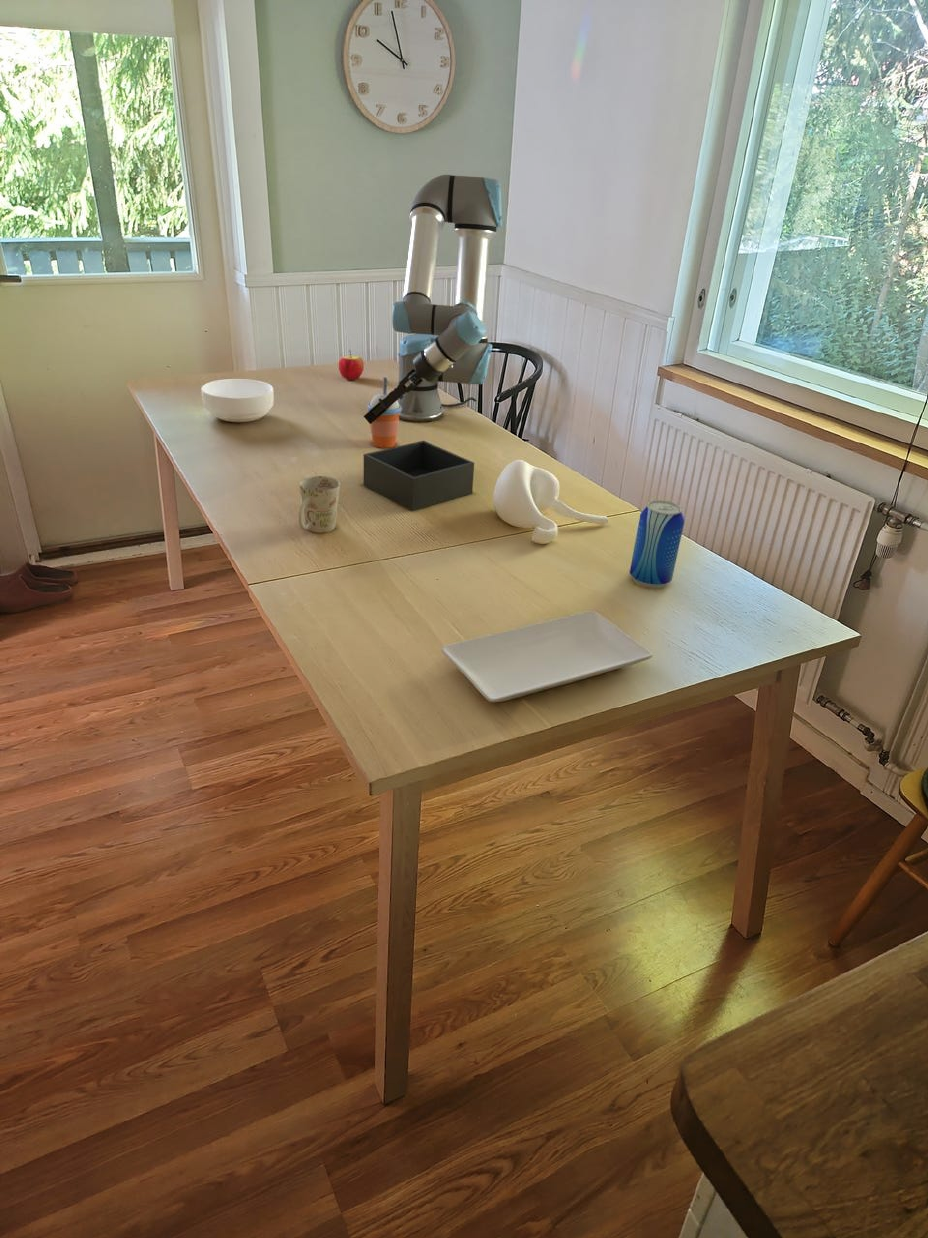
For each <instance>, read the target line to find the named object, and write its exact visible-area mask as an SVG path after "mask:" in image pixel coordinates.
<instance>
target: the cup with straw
mask: <svg viewBox="0 0 928 1238" xmlns="http://www.w3.org/2000/svg"><path fill="white" fill-rule="evenodd" d="M387 381H388V378H387V377H383V378H382V393H378V394H376V395H375V396H373V398H372V399H371V400H370V402H369V403H368V404H367V406H366V407H367V412H369V411H370V410H371V409H372V408H373V407H374V406H375V405H377V404H378V403H379V402H380V401H379V399H381V400H383V399H384V398H385V397H386V396H388V395H389V393H387V386H388V384H387V383H388V382H387ZM401 410H402V407H401V405H400V404H399V403H398V401H396V402H394V403H393V404H392V405H391V406H390V407H389V409H387V410H386V411H385V412H384V413H383V414H381V415H380V416H379V417H378V418H377V419H376V420H375V421H374V422H372V423H371V424H370V423H369V426H370V434H371V439H372V445H373V446H374V447H376V448H381V449H389V448H393V447H396V442H397V435H398V433H399V431H398V430H399V423H400V419H399V413H400V412H401Z"/></svg>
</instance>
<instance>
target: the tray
mask: <svg viewBox="0 0 928 1238" xmlns="http://www.w3.org/2000/svg"><path fill="white" fill-rule="evenodd" d="M441 653H442V654H443V655H444V656H445V657H446V658H447V659H448V660H449V661H450V662H451V663H452V664H453V665H454V666H455V667H456V668H457V669H458V670H459V671H460V673H462V675H463V676H465V677H466V678H467V680H468V681H469V682H470V683H471V685H473V687H474V688H475V689H476V690H477V691H478V692H479V693H480V694H481V695H482V697H484V699H486V701H488V702H489V703H502V702H503V703H504V702H508V701H511V700H514V699H518V698H520V697H525V696H527V695H528V696H529V695H531V694H535V693H538V692H542V691H544V690H549V689H553V688H555V687H560V686H564V685H566V684H569V683H573V682H577V681H580V680H584V679H587V678H590V677H594V676H598V675H601V674H606V673H608V672H613V671H615V670H619V669H622V668H623V669H624V668H626V667H629V666H632V665H636V664H639V663H643V662H645V661H647V660H649V659H651V658H653V653H652V652H651V651H650V650H649V649H647V648H646V647H645V646H643V645H642V644H641V643H639V642H638V641H637V640H635V639H634V638H633V637H631V636H630V635H629V634H628V633H626V632H625V631H624V630H622V629H620V628H619V627H618V626H617V625H616V624H614V623H612V622H611V621H610V620H608V619H607V618H606V617H605V616H603V615H602V614H600V613H599V612H597V611H595V610H586V611H582V612H578V613H575V614H571V615H567V616H562V617H558V618H554V619H551V620H546V621H542V622H538V623H534V624H529V625H526V626H521V627H517V628H513V629H509V630H504V631H500V632H497V633H491V634H488V635H487V634H486V635H483V636H479V637H475V638H471V639H467V640H462V641H458V642H454V643H450V644H447V645H446V644H445V645H444V646H442V647H441Z"/></svg>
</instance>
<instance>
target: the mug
mask: <svg viewBox="0 0 928 1238" xmlns="http://www.w3.org/2000/svg"><path fill="white" fill-rule="evenodd" d="M340 490H341V482H340V481H339V480H338V479H336V478H334V477H330V476H326V475H313V476H309V477H305V478H303V479H302V480H300V482H299V491H300V496H301V505H300V507H299V511H298V524H299V527H300V528H301V529H302V530H308V531H310V532H313V533H318V534H324V533H329V532H332V531H334V530H335V529H336V524H337V517H338V516H337V515H338V507H339V498H340V493H341V492H340ZM304 520H305V521H304Z"/></svg>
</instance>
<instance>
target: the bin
mask: <svg viewBox="0 0 928 1238" xmlns="http://www.w3.org/2000/svg"><path fill="white" fill-rule="evenodd" d="M474 474H475V462H473V460H472V461H471V460H470V459H467V458H464V457H462V456H460V455H458V454H455V453H453V452H451V451H449V450H447V449H444V448H441V447H439V446H437V445H434V444H433V443H430V442H428V441H426V440H419V441H415V442H411V443H406V444H403V445H398V446H393V447H390V448H384V449H381V450H376V451H372V452H367V453H364V454H363V486H365V487H366V488H367V489H370V490H372V491H374V492H376V493H377V494H379V495H381V496H383V497H385V498H387V499H389V500H391V501H392V502H395V503H397V504H398V505H400V506H402V507H404V508H406V509H408V510H410V511H417V510H420V509H424V508H427V507H430V506H435V505H439V504H440V503H444V502H448V501H452V500H454V499H458V498H462V497H465V496H468V495H469V496H470V495H472V494H473V486H474Z"/></svg>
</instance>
